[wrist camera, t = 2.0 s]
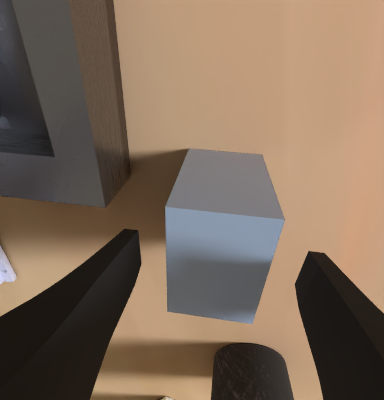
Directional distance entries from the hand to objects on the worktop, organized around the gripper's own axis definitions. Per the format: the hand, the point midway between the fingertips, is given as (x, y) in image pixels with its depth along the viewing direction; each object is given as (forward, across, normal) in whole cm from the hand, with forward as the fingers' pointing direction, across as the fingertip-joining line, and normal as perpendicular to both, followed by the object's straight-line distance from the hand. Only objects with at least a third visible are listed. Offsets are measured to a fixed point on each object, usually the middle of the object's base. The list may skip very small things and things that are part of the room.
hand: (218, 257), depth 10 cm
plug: (+5, 0, 0) cm, 5 cm away
